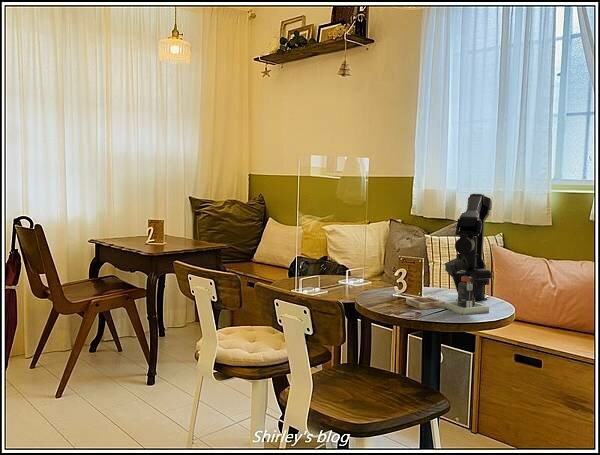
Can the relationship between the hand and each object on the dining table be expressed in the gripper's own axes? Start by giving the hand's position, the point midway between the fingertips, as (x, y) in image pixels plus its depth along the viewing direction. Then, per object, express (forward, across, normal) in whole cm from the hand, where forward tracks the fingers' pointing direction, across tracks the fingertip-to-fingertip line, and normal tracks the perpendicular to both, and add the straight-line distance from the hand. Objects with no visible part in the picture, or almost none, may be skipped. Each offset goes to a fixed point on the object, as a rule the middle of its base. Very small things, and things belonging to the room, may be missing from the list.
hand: (466, 294), depth 206 cm
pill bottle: (+5, 0, 0) cm, 5 cm away
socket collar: (+6, -12, -10) cm, 16 cm away
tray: (+6, 0, 0) cm, 6 cm away
